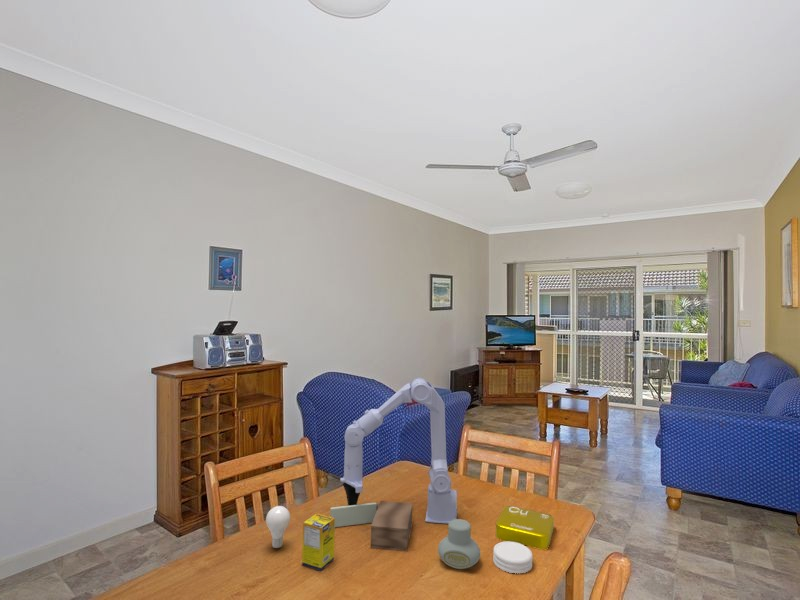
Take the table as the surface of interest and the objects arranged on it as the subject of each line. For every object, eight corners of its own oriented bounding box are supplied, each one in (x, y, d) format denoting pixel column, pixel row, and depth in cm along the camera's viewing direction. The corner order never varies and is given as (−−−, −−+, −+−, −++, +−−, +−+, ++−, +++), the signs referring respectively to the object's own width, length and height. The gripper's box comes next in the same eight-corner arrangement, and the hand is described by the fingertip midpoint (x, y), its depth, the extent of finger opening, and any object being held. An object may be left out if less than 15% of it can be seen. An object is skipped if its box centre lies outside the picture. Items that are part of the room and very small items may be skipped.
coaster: (525, 580, 110) (526, 565, 110) (487, 566, 115) (487, 553, 115) (536, 561, 119) (537, 547, 119) (500, 549, 124) (500, 536, 124)
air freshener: (435, 567, 114) (436, 528, 114) (440, 550, 122) (441, 513, 122) (478, 575, 111) (479, 534, 111) (481, 557, 119) (482, 519, 119)
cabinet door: (378, 521, 137) (378, 503, 137) (330, 527, 133) (331, 509, 133) (376, 518, 139) (377, 501, 139) (329, 524, 134) (330, 506, 134)
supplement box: (334, 559, 116) (335, 517, 117) (321, 571, 111) (322, 527, 111) (315, 553, 119) (316, 512, 119) (301, 565, 113) (302, 522, 114)
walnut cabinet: (412, 523, 137) (412, 503, 137) (406, 551, 121) (407, 528, 121) (379, 520, 138) (380, 500, 138) (370, 547, 122) (371, 525, 123)
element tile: (493, 539, 129) (494, 522, 130) (505, 517, 143) (505, 502, 143) (547, 553, 123) (548, 535, 123) (554, 529, 137) (554, 513, 137)
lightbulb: (293, 544, 123) (294, 504, 124) (280, 556, 117) (281, 514, 118) (274, 539, 125) (275, 500, 126) (260, 551, 119) (261, 509, 120)
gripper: (335, 457, 146) (334, 499, 146) (347, 473, 133) (345, 519, 132) (356, 455, 149) (355, 496, 149) (369, 470, 135) (368, 515, 135)
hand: (352, 507), depth 141 cm, fingers closed
